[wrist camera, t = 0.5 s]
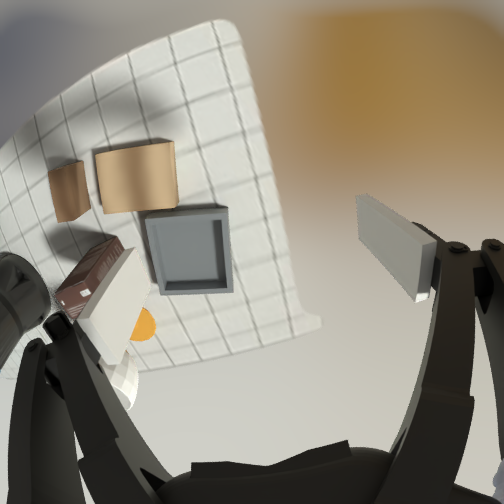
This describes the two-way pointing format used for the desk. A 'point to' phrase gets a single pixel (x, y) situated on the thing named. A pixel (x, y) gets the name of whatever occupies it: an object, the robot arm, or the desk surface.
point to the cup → (129, 363)
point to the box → (88, 276)
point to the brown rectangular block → (69, 191)
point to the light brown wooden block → (138, 178)
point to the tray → (191, 251)
